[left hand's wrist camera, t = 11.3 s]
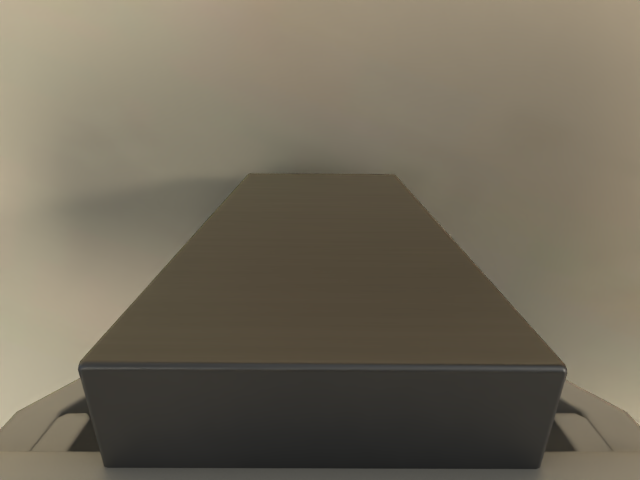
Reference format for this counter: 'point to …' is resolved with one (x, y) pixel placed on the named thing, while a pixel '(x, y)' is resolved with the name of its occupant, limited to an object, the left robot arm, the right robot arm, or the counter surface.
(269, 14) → the counter surface
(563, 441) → the left robot arm
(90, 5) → the counter surface
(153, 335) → the box
